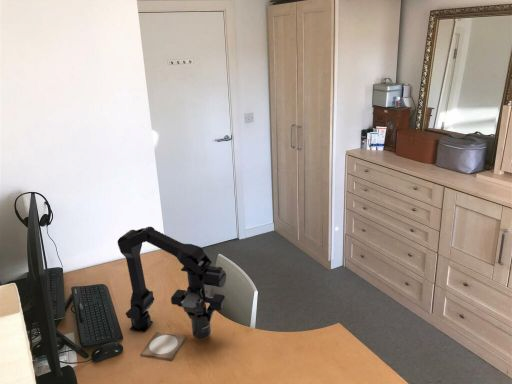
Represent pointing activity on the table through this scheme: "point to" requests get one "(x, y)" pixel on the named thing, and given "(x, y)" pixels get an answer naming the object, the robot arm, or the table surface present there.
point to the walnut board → (163, 346)
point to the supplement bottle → (200, 323)
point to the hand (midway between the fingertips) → (200, 319)
